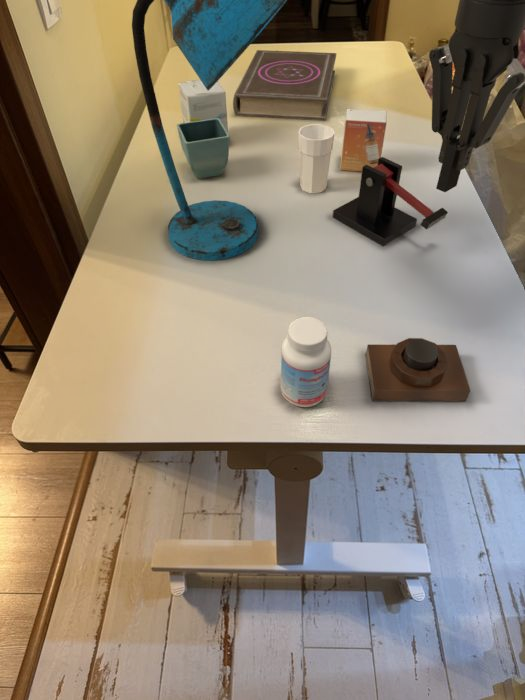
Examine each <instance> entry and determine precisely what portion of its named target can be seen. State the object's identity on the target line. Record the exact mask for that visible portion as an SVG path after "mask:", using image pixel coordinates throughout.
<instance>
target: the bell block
mask: <svg viewBox="0 0 525 700" xmlns="http://www.w3.org/2000/svg"><path fill="white" fill-rule="evenodd" d="M416 339H422V340H426V341H429V342H431V343H432V344H434V345H435V346H436V348H437V350H438V356H437V359H436V362H435V365H434V366H433V367H432V368H431V369H429V370H427V371H417V370H414V369H412V368H410V367H409V366H408V365H407V364H406V363H405V361H404V353H405V349H406V346H407V344H408V343H409V342H410V341H412V340H416ZM365 361H366V367H367V373H368V381H369V387H370V393H371V399H372V401H373V402H376V401H377V402H379V401H382V402H467V400H468V398H469V396H470V393H471V387H470V384H469V382H468V379H467V376H466V372H465V369H464V366H463V362H462V360H461V356H460V353H459V350H458V347H457V344H437V343H435V342H434V341H433V342H432V341H430V340H428V339H425V338H422V337H418V338H417V337H408V338H406V339H403V340H401V341H399V342H397V343H396V344H367V346H366V351H365Z"/></svg>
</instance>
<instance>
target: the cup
mask: <svg viewBox="0 0 525 700" xmlns="http://www.w3.org/2000/svg"><path fill="white" fill-rule="evenodd" d="M334 140H335V129H334V128H332V127H331V126H329V125H326V124H321V123H310V124H307V125H304V126H301V127H300V128H299V129H298V150H299V186H300V188H301V190H302V191H303V192H305V193H309V194H319V193H323V192H324V191H325V190H326V189H327V188H328V187H327V186H328V179H329V178H328V177H329V171H330V165H331V164H330V163H331V155H332V151H333V147H334Z"/></svg>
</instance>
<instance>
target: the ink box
mask: <svg viewBox="0 0 525 700" xmlns="http://www.w3.org/2000/svg"><path fill="white" fill-rule="evenodd" d="M178 89H179V97H180V106H181V116H182V123H187V122H194V121H201V120H208V119H213V118H219V119H220V120H221V122H222V124H223V126H224V127H225V129H226V131H227V132H228V133H229V123H228V112H227V111H228V110H227V98H226V97H227V93H226V90H225V89H224V87H223V86H222V85H221V83H220V81H219V80H218V81H217V82H216V83H215V85H214V86H213V87H212V88H211V89H210V90H209V91H208V90H207V89H206V87H205V86H204V84H203V83H202V81H201V80H200V79H195V80H188V81H179V82H178Z"/></svg>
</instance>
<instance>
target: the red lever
mask: <svg viewBox="0 0 525 700" xmlns="http://www.w3.org/2000/svg"><path fill="white" fill-rule="evenodd" d="M374 168H375V169H377V170H379V171H381V172H383V173H385V174H387V176H386V182H385V186H387V187H388V188H389V189H390V190H392V191H393V192H394V193H395V194H397V196H398V198H400V199H402V200H403V201H404V202H406V203H407V204H408V205H409V206H410V207H412V209H414V210H415V211H416V212H418V213H419V214H420V215H421V216H423V217H424V218H423V219H422V221H421V222H420V226H421V227H422V228H423V229H425V230H429V229H430V228H432V227H433V226H435V225H436V224H438V223H439V222H441V221H442V220H444V219H446V217H447V215H448V213H449V211H447V209H445V208H444V207H441V208H439V209H438V210H435V211H433V210H432V209H431V208H430V207H428V206H427V205H426V204H424V203H423V202H422V201H421V200H420V199H418V198H417V197H415V196H414V195H413V194H412V193H410V192H409V190H407V189H405V188H404V187H403V186H402V185H401V184H400V183H399V184H398V183H396V182H395V181H394V180H393V179H391V177H392V175H393V172H392V171H390V170H389V169H388V168H387V167H385V166H384V165H383V164H380V165H378V166H376V167H374Z"/></svg>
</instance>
